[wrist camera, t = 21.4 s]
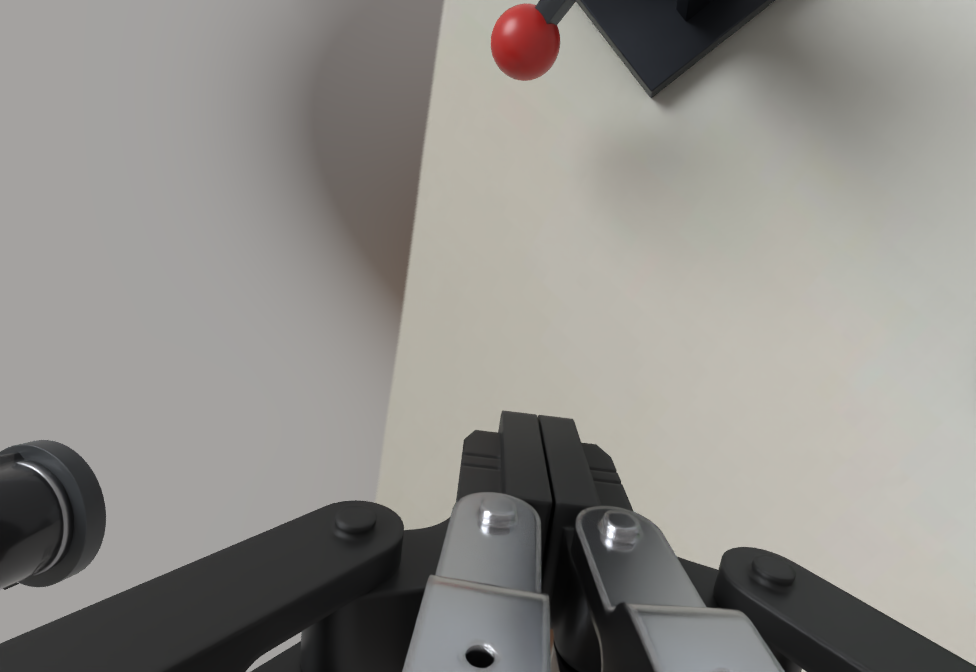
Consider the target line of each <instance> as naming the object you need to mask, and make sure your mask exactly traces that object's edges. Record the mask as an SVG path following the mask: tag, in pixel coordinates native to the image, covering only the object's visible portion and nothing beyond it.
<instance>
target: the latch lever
mask: <svg viewBox="0 0 976 672" xmlns="http://www.w3.org/2000/svg"><path fill="white" fill-rule="evenodd" d="M575 2H576V0H540V1H539V2H538V4H537V5H533V4H520V5H516V6H513V7H512V8H510V9H508V10H507V11H505V12H504V13H503V14H502V15H501V16H500V18H499V19H498V20H497V22H496V24H495V26H494V29H493V31H492V36H491V50H492V55H493V58H494V60H495V62H496V64H497V66H498V67H499V68H500V70H501V71H502V72H504V73H505V74H506V75H507V76H509V77H511V78H513V79H516V80H523V81H526V80H533V79H536V78H538V77H540V76H542V75H543V74H545V73H546V72H547V71H548V70H549V69H550V68H551V67H552V65H553V64H554V62H555V60H556V58H557V56H558V53H559V48H560V34H559V30H558V27H557V24H558V23H559V22H560V21H561V19H562V18H563V17H564V16H565V14H566V13H567V12H568V11H569V9H570V8H571V7H572V5H573V4H574V3H575Z"/></svg>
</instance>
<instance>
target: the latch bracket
mask: <svg viewBox="0 0 976 672" xmlns="http://www.w3.org/2000/svg"><path fill="white" fill-rule="evenodd" d="M774 1H775V0H576V2H577V3H578V4H579V5H580V7H581V8H582V9H583V11H584V12H585V13H586V15H587V16H588V17H589V18H590V20H591V21H592V22H593V24H594V25H595V26H596V27H597V29H598V30H599V31H600V33H601V34H602V35H603V37H604V38H605V39H606V40H607V42H608V43H609V44H610V46H611V47H612V48H613V49H614V51H615V52H616V53H617V55H618V56H619V57H620V59H621V60H622V61H623V62H624V64H625V65H626V66H627V68H628V69H629V70H630V71H631V73H632V74H633V75H634V77H635V78H636V79H637V81H638V82H639V83H640V84H641V86H642V87H643V88H644V90H645V91H646V92H647V93H648V95H649V96H650V97H653V96H654V95H656V94H657V93H658V92H660V91H661V90H662V89H663V88H665V87H666V86H667V85H668V84H670V83H671V82H672V81H673V80H675V79H676V78H677V77H679V76H680V75H681V74H682V73H684V72H685V71H686V70H687V69H689V68H690V67H691V66H692V65H694V64H695V63H696V62H698V61H699V60H700V59H701V58H703V57H704V56H705V55H706V54H708V53H709V52H710V51H712V50H713V49H714V48H715V47H717V46H718V45H719V44H720V43H722V42H723V41H724V40H725V39H727V38H728V37H729V36H731V35H732V34H733V33H734V32H736V31H737V30H738V29H739V28H741V27H742V26H743V25H744V24H746V23H747V22H748V21H750V20H751V19H752V18H753V17H755V16H756V15H757V14H758V13H760V12H761V11H762V10H764V9H765V8H766V7H767V6H769V5H770V4H771V3H772V2H774Z"/></svg>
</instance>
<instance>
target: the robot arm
mask: <svg viewBox="0 0 976 672" xmlns="http://www.w3.org/2000/svg"><path fill="white" fill-rule="evenodd" d="M72 535H73V512H72V507H71V503H70V500H69V497H68V495H67V493H66V491H65V489H64V487H63V485H62V484H61V482H60V481H59V480H58V478H57V477H56V476H55V475H54V474H53V473H52V472H51V471H50V470H49V469H47V468H46V467H44V466H43V465H41V464H39V463H36V462H33V461H28V460H25V459H24V458H23V457H22V456H21V454H20V453H19V452H14V453H9V454H5V455H1V456H0V589H4V590H6V589H8V588H10V587H13V586H15V585H17V584H19V583H17V582H19V581H22V580H24V579H27V578H29V577H31V576H34V575H38V574H40V573H42V572H44V571H47V570H49V569H51V568H53V567H54V566H56V565H57V564H58V563H59V562H60V561H61V560H62V559H63V557H64V556H65V554H66V553H67V551H68V549H69V546H70V544H71V540H72ZM550 629H553V634H554V640H553V645H552V651H551V653H550ZM300 632H302V636H301V641H300V642H299V643H297V644H295V645H294V646H292V647H291V648H289V649H287V650H286V651H284V652H282V653H281V654H279V655H277V656H276V657H274V658H273V659H271V660H269V661H268V662H266V663H264V664H263V665H261V666H259V667H258V668H256V669H254V670H253V671H252V672H801V670H802V669H804V670H805V671H807V672H976V666H974V665H973V664H971V663H969V662H967V661H966V660H964V659H962V658H960V657H959V656H957V655H955V654H953V653H952V652H950V651H948V650H946V649H945V648H943V647H941V646H939V645H938V644H936V643H934V642H932V641H931V640H929V639H927V638H926V637H924V636H922V635H920V634H919V633H917V632H915V631H913V630H912V629H910V628H908V627H906V626H905V625H903V624H901V623H899V622H898V621H896V620H894V619H892V618H891V617H889V616H887V615H885V614H884V613H882V612H880V611H878V610H877V609H875V608H873V607H871V606H870V605H868V604H866V603H864V602H863V601H861V600H859V599H857V598H856V597H854V596H852V595H850V594H849V593H847V592H845V591H843V590H842V589H840V588H838V587H836V586H835V585H833V584H831V583H829V582H828V581H826V580H824V579H822V578H821V577H819V576H817V575H815V574H814V573H812V572H810V571H808V570H807V569H805V568H803V567H801V566H800V565H798V564H796V563H794V562H793V561H791V560H789V559H787V558H785V557H782V556H780V555H778V554H775V553H772V552H769V551H766V550H762V549H757V548H750V547H738V548H733V549H730V550H728V551H726V552H725V553H724V554H723V556H722V559H721V563H720V566H719V570H717V569H714V568H710V567H707V566H704V565H701V564H697V563H694V562H691V561H688V560H685V559H682V558H680V557H677V556H676V555H675V553H674V551H673V550H672V548H671V546H670V545H669V543H668V541H667V540H666V538H665V536H664V535H663V533H662V532H661V530H660V529H659V528H658V527H657V526H656V525H655V524H654V523H653V522H651V521H650V520H649V519H647V518H645V517H644V516H642V515H640V514H638V513H635V512H633V509H632V507H631V504H630V502H629V500H628V497H627V495H626V492H625V490H624V488H623V485H622V484H621V480H620V478H619V475H618V473H616V468H615V466H614V463H613V461H612V459H611V457H610V456H609V455H608V454H607V453H605V452H604V451H603V450H602V449H601V448H600V447H598V446H597V445H596V444H587V443H581V441H580V438H579V435H578V432H577V429H576V426H575V423H574V420H573V419H569V418H560V417H552V416H544V415H538V417H537V415H535V414H527V413H519V412H510V411H502V413H501V418H500V424H499V431H498V433H496V432H487V431H479V430H475V431H474V432H472V433H471V434H470V435H469V436H468V437H467V438H465V439H464V444H463V452H462V460H461V467H460V475H459V483H458V491H457V499H456V503H455V505H454V507H453V510H452V513H451V517H450V518H448V519H447V520H445V521H444V522H442V523H440V524H437V525H435V526H432V527H427V528H422V529H414V530H404V525H403V522H402V520H401V518H400V517H399V516H398V515H397V514H396V513H395V512H394V511H392V510H391V509H389V508H387V507H385V506H383V505H380V504H377V503H373V502H366V501H343V502H338V503H333V504H330V505H328V506H325V507H322V508H320V509H318V510H315V511H313V512H310V513H308V514H306V515H303V516H301V517H299V518H296V519H294V520H292V521H289V522H287V523H284V524H282V525H280V526H278V527H275V528H273V529H270V530H268V531H266V532H263V533H261V534H259V535H256V536H254V537H251V538H249V539H247V540H244V541H242V542H240V543H237V544H235V545H232V546H230V547H228V548H225V549H223V550H221V551H218V552H216V553H213V554H211V555H209V556H206V557H204V558H202V559H199V560H197V561H195V562H192V563H190V564H187V565H185V566H183V567H180V568H178V569H176V570H173V571H171V572H169V573H166V574H164V575H162V576H159V577H157V578H154V579H152V580H150V581H147V582H145V583H142V584H140V585H138V586H136V587H133V588H131V589H128V590H126V591H124V592H121V593H119V594H116V595H114V596H112V597H110V598H107V599H105V600H102V601H100V602H98V603H95V604H93V605H90V606H88V607H86V608H83V609H81V610H79V611H76V612H74V613H71V614H69V615H67V616H64V617H62V618H60V619H58V620H55V621H53V622H51V623H48V624H45V625H43V626H41V627H38V628H36V629H34V630H31V631H29V632H27V633H24V634H22V635H20V636H17V637H15V638H12V639H10V640H8V641H5V642H3V643H1V644H0V672H246V670H247V669H248V668H249V667H250V666H251V665H252V664H253V663H254V661H255V660H257V659H258V658H259V657H260V656H262V655H263V654H265V653H266V652H268V651H270V650H271V649H273V648H274V647H276V646H278V645H280V644H281V643H283V642H285V641H286V640H288V639H290V638H291V637H293V636H295V635H296V634H298V633H300Z"/></svg>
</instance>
